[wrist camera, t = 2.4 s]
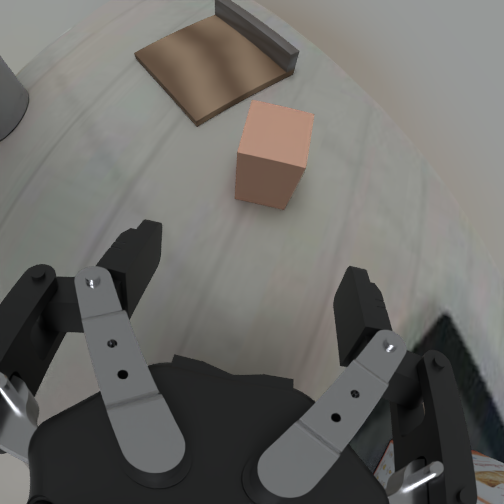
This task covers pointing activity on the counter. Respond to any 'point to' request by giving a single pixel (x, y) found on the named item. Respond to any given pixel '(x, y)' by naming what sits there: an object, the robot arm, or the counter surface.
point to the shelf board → (218, 61)
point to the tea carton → (272, 154)
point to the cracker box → (486, 470)
